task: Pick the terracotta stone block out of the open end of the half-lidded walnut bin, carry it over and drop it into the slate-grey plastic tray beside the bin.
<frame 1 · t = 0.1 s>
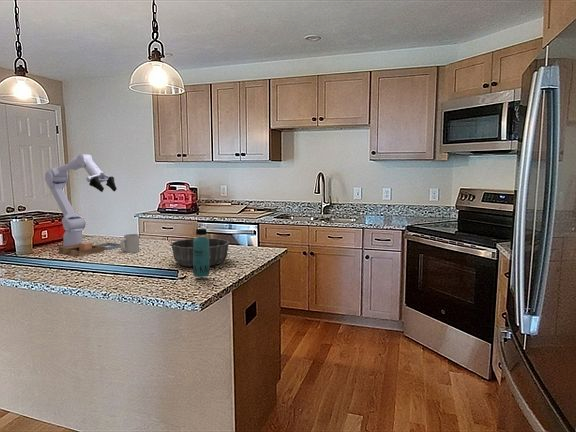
hand: (109, 190, 203), 32 cm above the table, tool tilted 50°, fingers open, 7 cm apart
beverage bottle: (201, 279, 160), on the table
flat stone 1: (70, 252, 203), point 1 cm above the table, touching gravel bin
flat stone 2: (81, 250, 208), point 1 cm above the table, touching gravel bin
bundt pan: (200, 263, 186), on the table
cup: (129, 253, 207), on the table
stone block: (85, 252, 202), point 1 cm above the table, touching gravel bin
dump tray: (108, 248, 217), on the table
gravel bin: (81, 253, 204), on the table
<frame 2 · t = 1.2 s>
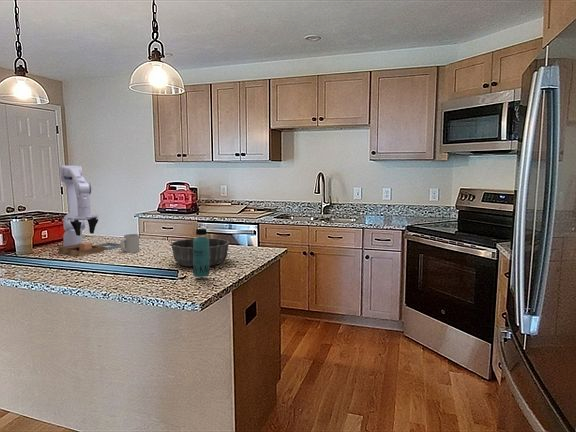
hand: (85, 234, 201), 10 cm above the table, tool pointing down, fingers open, 7 cm apart
nothing on the table moved.
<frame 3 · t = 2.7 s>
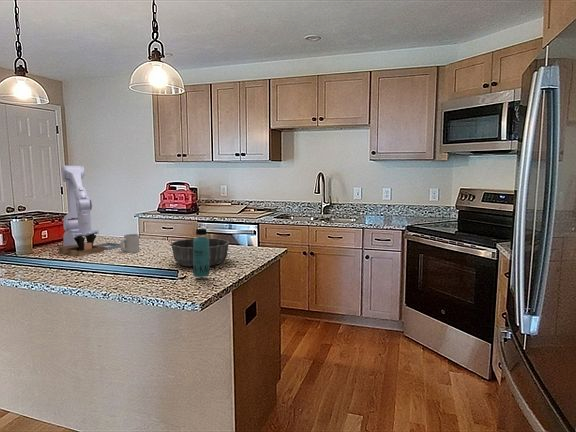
hand: (85, 250, 202), 2 cm above the table, tool pointing down, fingers closed on stone block, 4 cm apart
stone block: (85, 252, 202), point 1 cm above the table, touching gravel bin, gripper
everything else where it was.
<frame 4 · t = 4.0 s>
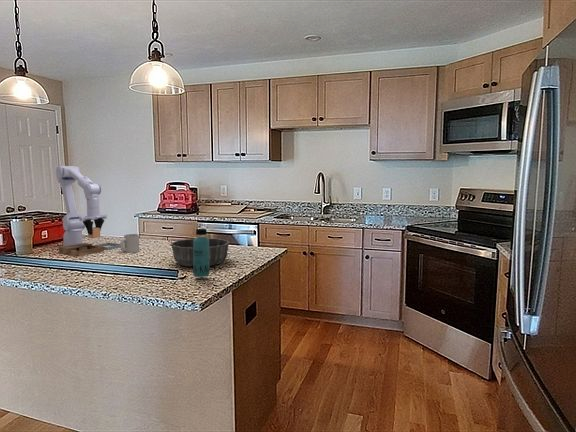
hand: (94, 233, 207), 9 cm above the table, tool pointing down, fingers closed on stone block, 4 cm apart
stone block: (94, 237, 207), point 7 cm above the table, touching gripper
everything else where it was.
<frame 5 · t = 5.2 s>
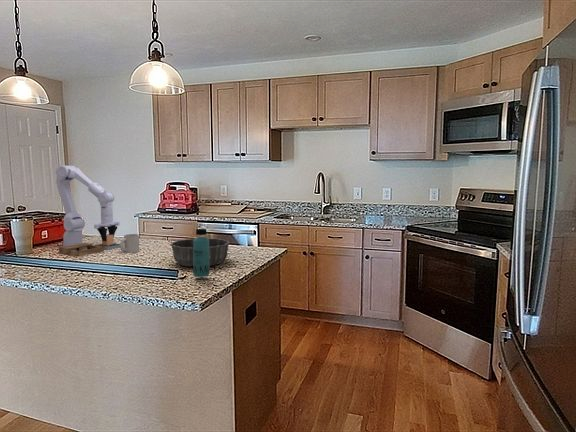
hand: (107, 240, 216), 5 cm above the table, tool pointing down, fingers closed on stone block, 4 cm apart
stone block: (107, 244, 216), point 2 cm above the table, touching gripper
everything else where it was.
when the fingers open (4 cm above the table, at t = 5.7 s): stone block drops 1 cm, resting on dump tray.
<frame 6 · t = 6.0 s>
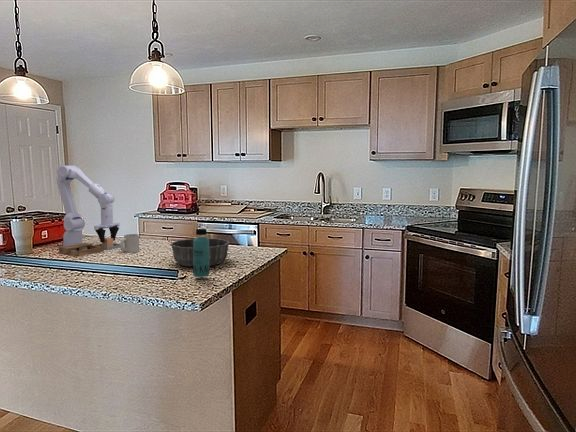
hand: (107, 241, 216), 4 cm above the table, tool pointing down, fingers open, 6 cm apart
stone block: (107, 247, 217), resting on dump tray
everything else where it was.
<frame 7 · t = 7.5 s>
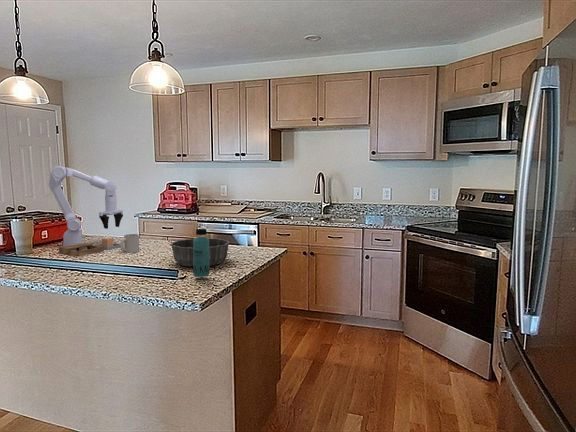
hand: (111, 227, 225), 10 cm above the table, tool pointing down, fingers open, 7 cm apart
nothing on the table moved.
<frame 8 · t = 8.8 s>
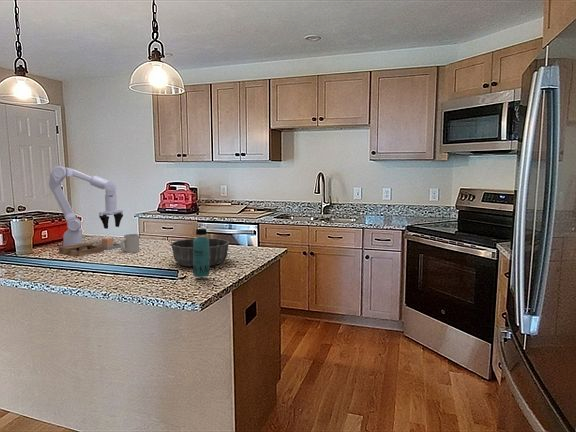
hand: (111, 227, 225), 10 cm above the table, tool pointing down, fingers open, 7 cm apart
nothing on the table moved.
at the end: stone block inside the target area on the dump tray (0.1 cm from its centre), point 0.5 cm above the dump tray's base; the gripper is holding nothing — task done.
